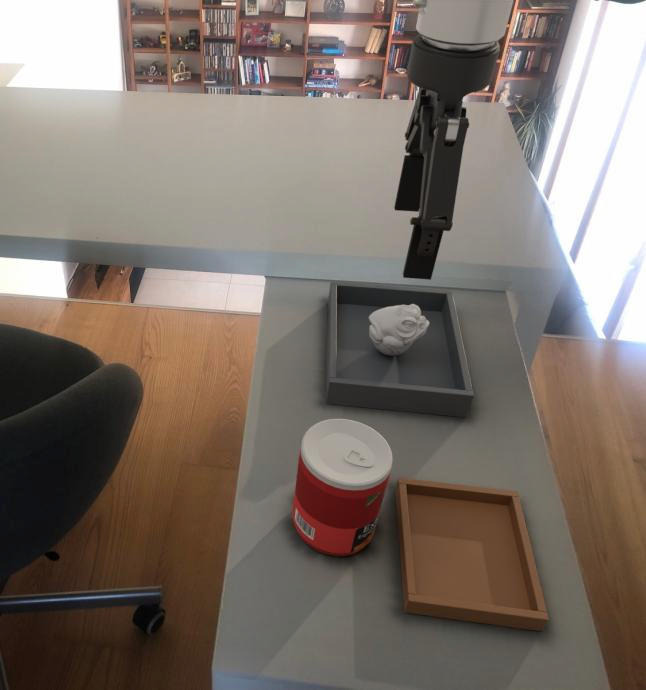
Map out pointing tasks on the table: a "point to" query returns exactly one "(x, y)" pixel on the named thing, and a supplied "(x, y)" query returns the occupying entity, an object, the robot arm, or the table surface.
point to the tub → (399, 370)
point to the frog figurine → (396, 328)
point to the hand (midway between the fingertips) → (411, 241)
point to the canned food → (340, 485)
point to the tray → (467, 555)
